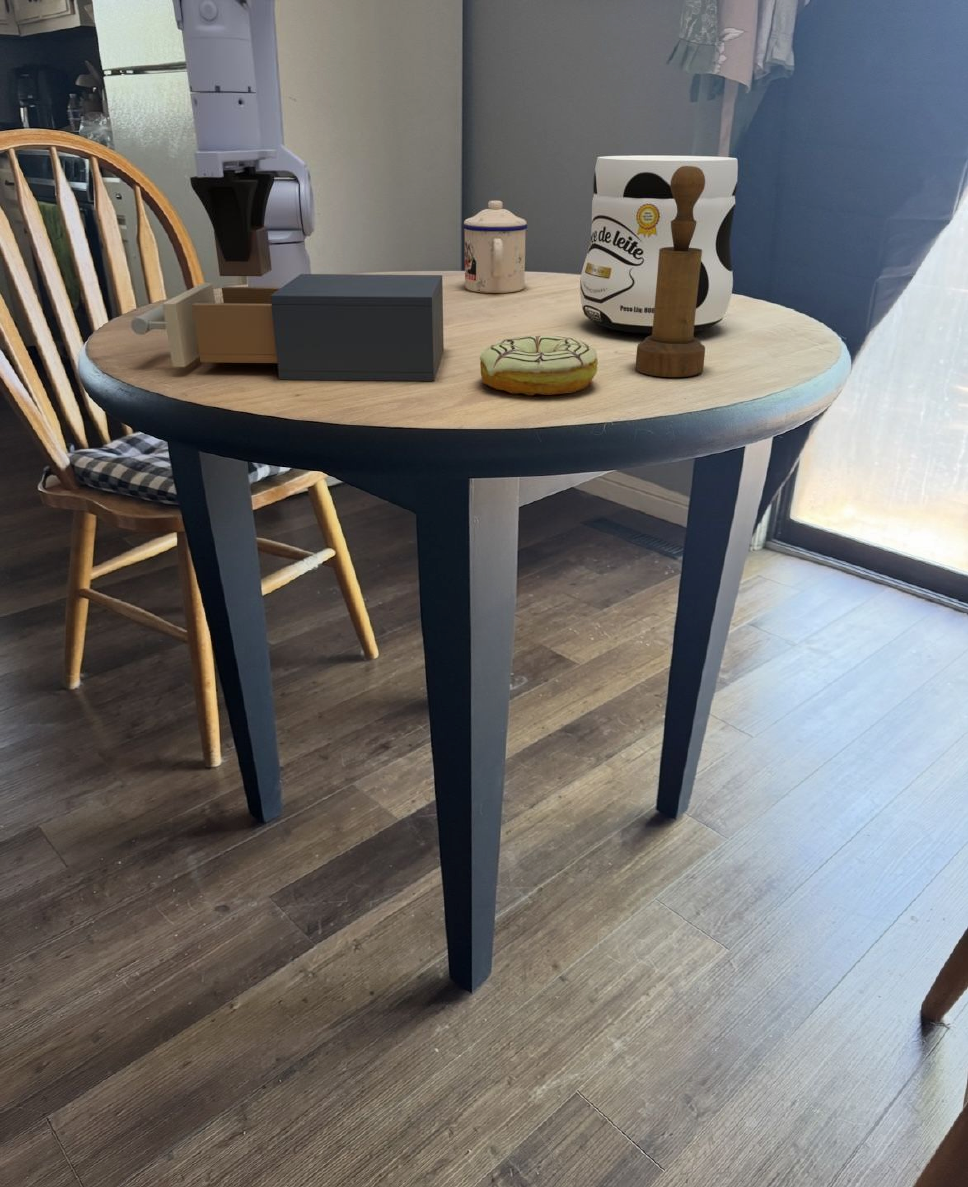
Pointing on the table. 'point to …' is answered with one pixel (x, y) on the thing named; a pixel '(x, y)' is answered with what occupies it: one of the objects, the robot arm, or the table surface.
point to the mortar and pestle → (676, 290)
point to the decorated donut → (539, 365)
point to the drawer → (215, 325)
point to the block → (257, 256)
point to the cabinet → (359, 327)
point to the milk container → (654, 238)
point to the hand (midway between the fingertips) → (243, 257)
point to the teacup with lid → (495, 251)
